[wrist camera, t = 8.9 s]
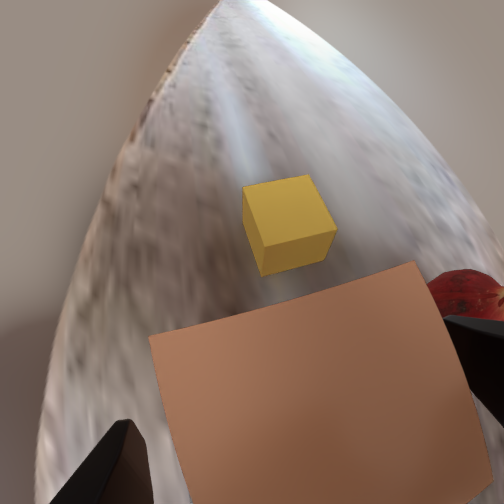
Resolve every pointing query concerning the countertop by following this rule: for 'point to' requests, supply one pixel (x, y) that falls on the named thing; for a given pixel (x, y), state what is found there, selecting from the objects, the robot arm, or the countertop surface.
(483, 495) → the countertop surface
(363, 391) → the tan rectangular block
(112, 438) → the robot arm
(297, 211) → the block
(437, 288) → the onion
